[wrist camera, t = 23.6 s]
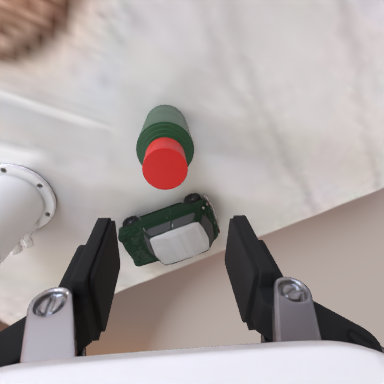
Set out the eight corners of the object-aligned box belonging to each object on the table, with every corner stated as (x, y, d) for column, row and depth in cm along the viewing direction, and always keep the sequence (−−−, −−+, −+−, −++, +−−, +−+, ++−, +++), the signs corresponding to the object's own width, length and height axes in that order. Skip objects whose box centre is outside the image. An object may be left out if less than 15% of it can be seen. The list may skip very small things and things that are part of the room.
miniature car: (116, 221, 46) (107, 249, 39) (206, 187, 44) (213, 210, 37) (137, 254, 50) (133, 285, 43) (220, 225, 48) (229, 252, 41)
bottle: (185, 145, 40) (197, 196, 24) (146, 145, 40) (132, 197, 24) (186, 105, 37) (201, 133, 21) (144, 104, 37) (127, 132, 21)
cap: (144, 136, 24) (141, 146, 21) (185, 137, 24) (188, 147, 21) (146, 174, 26) (143, 189, 23) (184, 175, 26) (186, 189, 23)
